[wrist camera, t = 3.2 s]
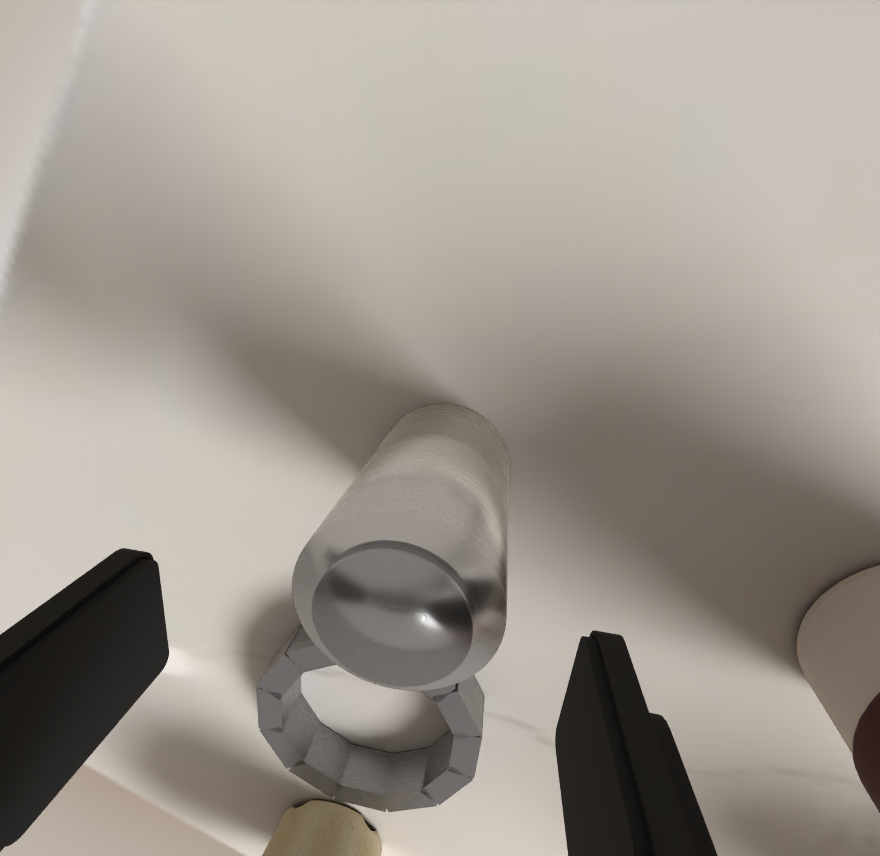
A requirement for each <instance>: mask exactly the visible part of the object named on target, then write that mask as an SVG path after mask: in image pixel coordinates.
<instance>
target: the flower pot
mask: <svg viewBox="0 0 880 856" xmlns="http://www.w3.org/2000/svg"><path fill="white" fill-rule="evenodd" d="M381 853H382V846H381V840H380V837H379V835H378V833H377V832H376V831H371V830H370V829H369V828H368V826H367V824H366V823H365V821H364V819H363V817H362V815H360V814H359V813H357V812H356V811H354V810H352V809H350V808H348V807H345V806H342V805H339V804H336V803H332V802H328V801H321V800H311V801H309V802H307V803H306V804H304V805H302V806H300V807H298V808H294V807H291V808H289V809H288V810H287V811H286V813H285V814H284V815H283V817H282V819H281V821H280V823H279V825H278V827H277V829H276V831H275V833H274V835H273V836H272V838H271V840H270V842H269V844H268V846H267V848H266V849H265V851H264V853H263V855H262V856H381Z"/></svg>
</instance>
